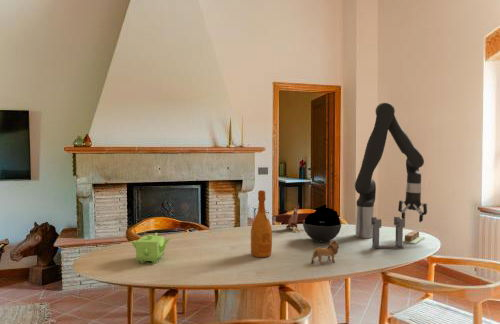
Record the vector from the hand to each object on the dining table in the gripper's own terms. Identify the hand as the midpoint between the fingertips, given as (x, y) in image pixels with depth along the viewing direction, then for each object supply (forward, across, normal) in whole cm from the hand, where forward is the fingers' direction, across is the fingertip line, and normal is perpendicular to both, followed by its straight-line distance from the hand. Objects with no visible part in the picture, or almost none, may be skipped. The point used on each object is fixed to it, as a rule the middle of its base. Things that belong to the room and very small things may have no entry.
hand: (411, 220), depth 202 cm
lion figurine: (+11, +18, +66) cm, 69 cm away
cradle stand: (+10, +4, +26) cm, 28 cm away
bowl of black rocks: (+11, +36, +35) cm, 51 cm away
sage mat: (+10, -1, +1) cm, 10 cm away
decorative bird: (+12, +61, +23) cm, 66 cm away
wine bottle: (+12, +46, +76) cm, 89 cm away
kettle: (+12, +78, +112) cm, 138 cm away
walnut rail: (+10, -1, +1) cm, 10 cm away
